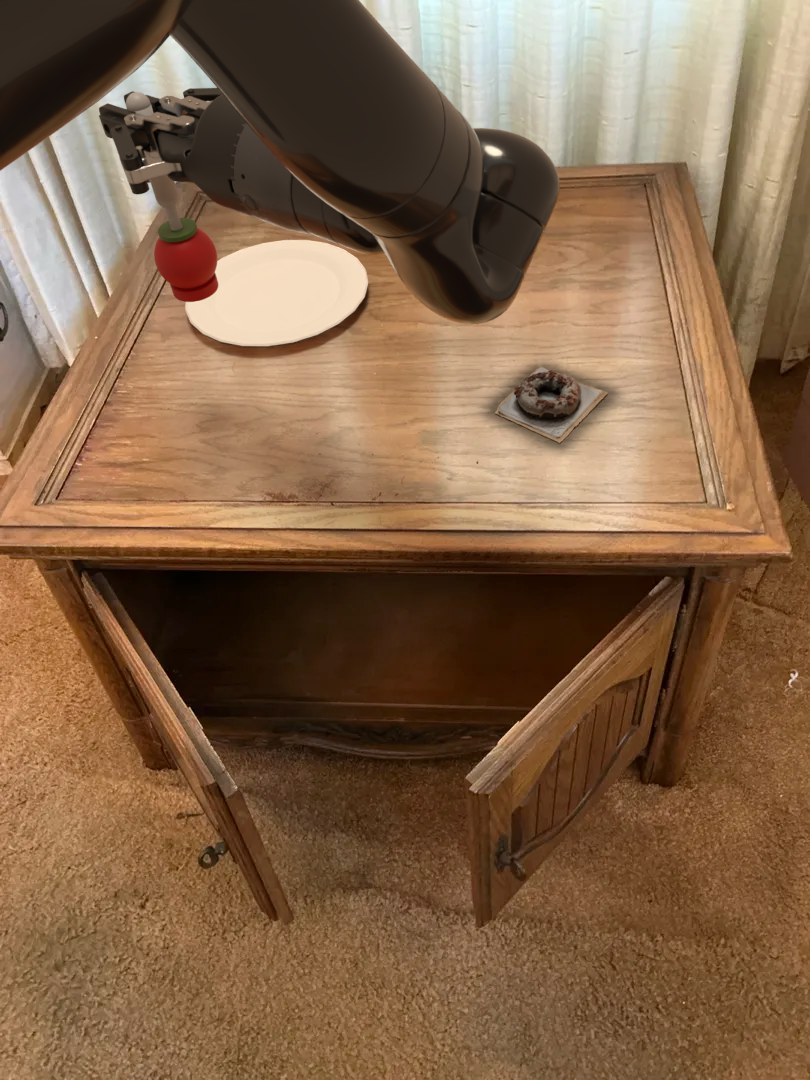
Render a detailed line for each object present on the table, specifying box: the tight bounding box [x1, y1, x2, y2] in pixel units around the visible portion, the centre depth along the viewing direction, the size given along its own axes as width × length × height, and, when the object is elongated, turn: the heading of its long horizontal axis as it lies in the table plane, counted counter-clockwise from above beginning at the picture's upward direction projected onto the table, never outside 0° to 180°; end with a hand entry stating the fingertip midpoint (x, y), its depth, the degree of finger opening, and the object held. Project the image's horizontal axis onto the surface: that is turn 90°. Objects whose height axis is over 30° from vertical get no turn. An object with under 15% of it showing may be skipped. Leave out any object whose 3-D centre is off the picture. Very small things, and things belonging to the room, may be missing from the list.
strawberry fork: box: [125, 91, 218, 303], centre depth 68 cm, size 5×5×16 cm
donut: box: [494, 366, 609, 444], centre depth 81 cm, size 8×8×2 cm
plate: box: [184, 239, 369, 349], centre depth 96 cm, size 21×21×2 cm
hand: (118, 113), depth 65 cm, fingers closed on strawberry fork
